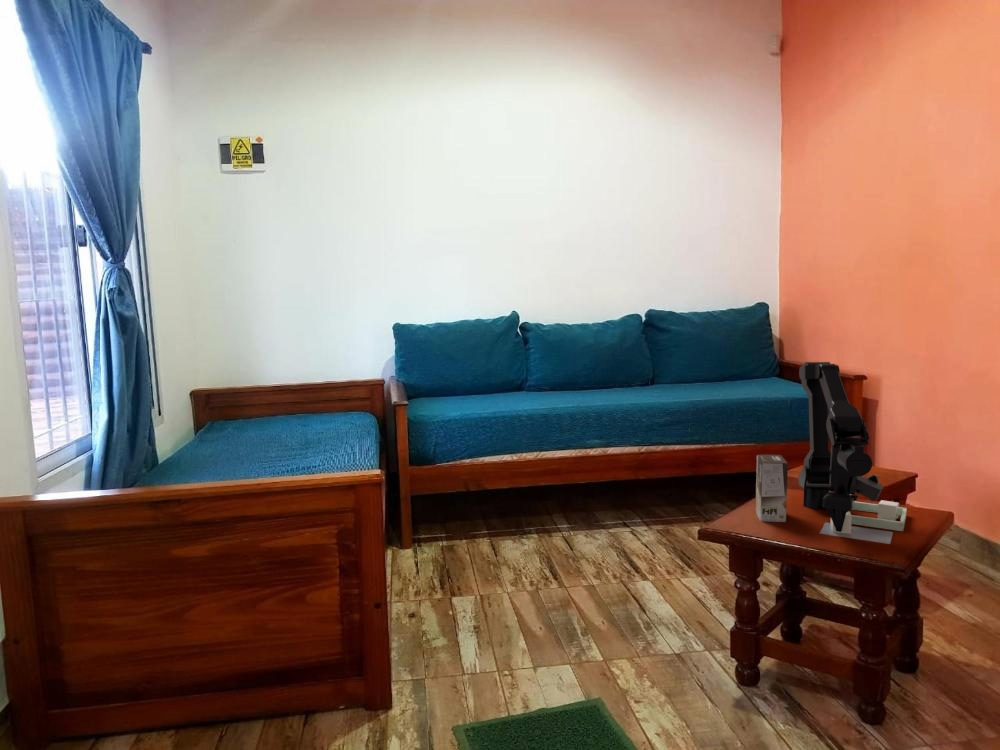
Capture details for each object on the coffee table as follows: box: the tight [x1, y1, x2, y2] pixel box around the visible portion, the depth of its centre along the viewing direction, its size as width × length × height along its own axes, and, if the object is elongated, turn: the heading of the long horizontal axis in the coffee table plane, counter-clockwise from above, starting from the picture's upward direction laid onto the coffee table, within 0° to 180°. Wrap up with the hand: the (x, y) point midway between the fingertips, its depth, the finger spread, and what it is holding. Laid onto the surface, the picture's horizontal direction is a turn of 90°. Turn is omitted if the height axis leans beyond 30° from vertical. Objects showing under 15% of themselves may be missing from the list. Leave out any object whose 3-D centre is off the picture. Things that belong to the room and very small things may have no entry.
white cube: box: [829, 511, 853, 534], centre depth 182 cm, size 4×4×4 cm
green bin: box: [851, 500, 908, 532], centre depth 191 cm, size 16×13×3 cm
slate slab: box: [819, 521, 894, 545], centre depth 180 cm, size 15×9×1 cm, turn 59°
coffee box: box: [755, 454, 789, 523], centre depth 193 cm, size 9×6×16 cm
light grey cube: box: [877, 499, 900, 521], centre depth 190 cm, size 4×4×4 cm
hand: (840, 528), depth 182 cm, fingers closed on white cube, 5 cm apart
